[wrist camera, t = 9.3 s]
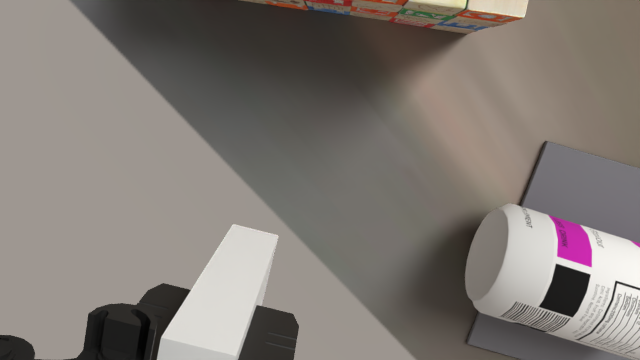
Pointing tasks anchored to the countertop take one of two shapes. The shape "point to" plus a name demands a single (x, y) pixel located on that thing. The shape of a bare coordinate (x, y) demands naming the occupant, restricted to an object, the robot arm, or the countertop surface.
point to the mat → (578, 207)
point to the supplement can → (557, 278)
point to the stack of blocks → (420, 11)
